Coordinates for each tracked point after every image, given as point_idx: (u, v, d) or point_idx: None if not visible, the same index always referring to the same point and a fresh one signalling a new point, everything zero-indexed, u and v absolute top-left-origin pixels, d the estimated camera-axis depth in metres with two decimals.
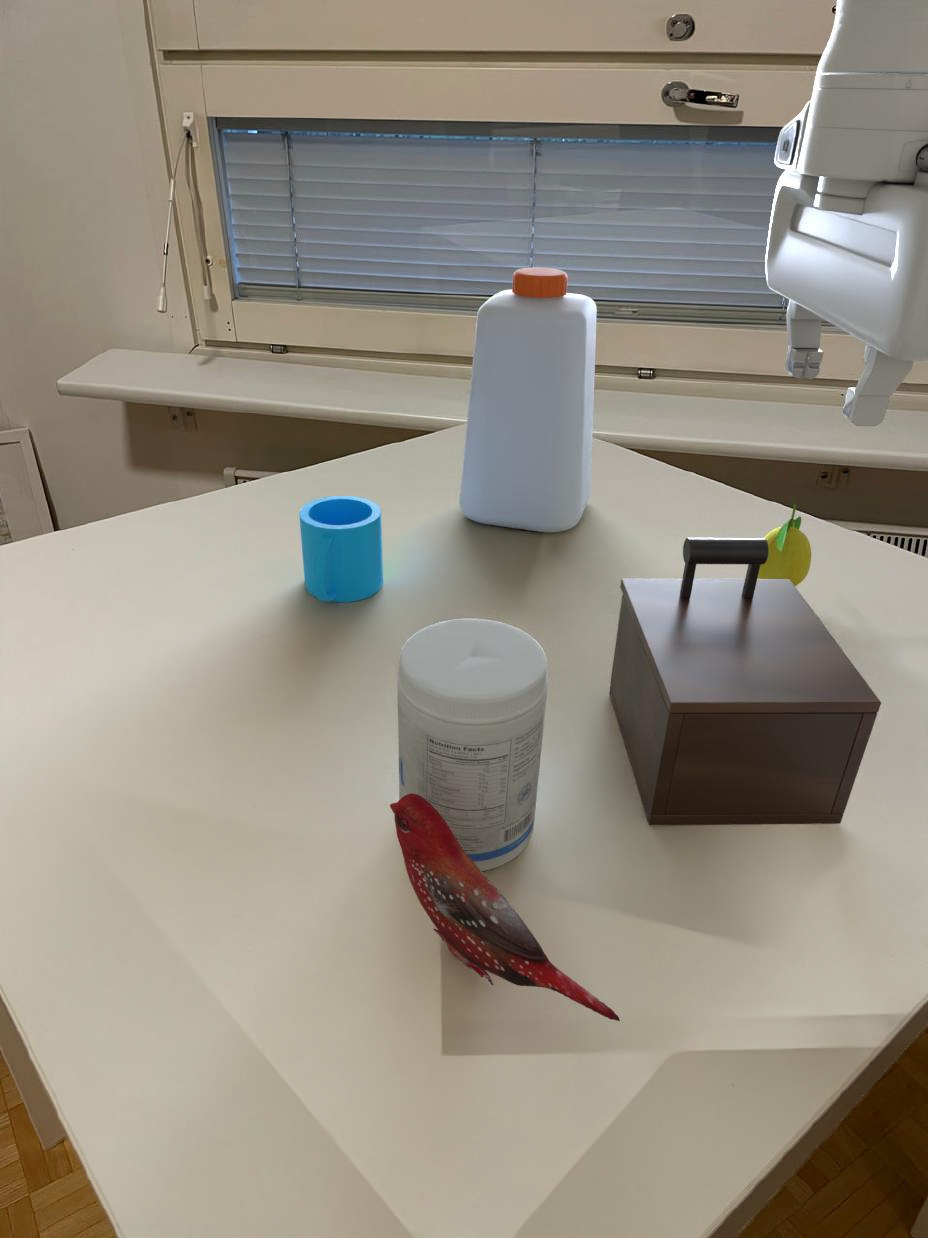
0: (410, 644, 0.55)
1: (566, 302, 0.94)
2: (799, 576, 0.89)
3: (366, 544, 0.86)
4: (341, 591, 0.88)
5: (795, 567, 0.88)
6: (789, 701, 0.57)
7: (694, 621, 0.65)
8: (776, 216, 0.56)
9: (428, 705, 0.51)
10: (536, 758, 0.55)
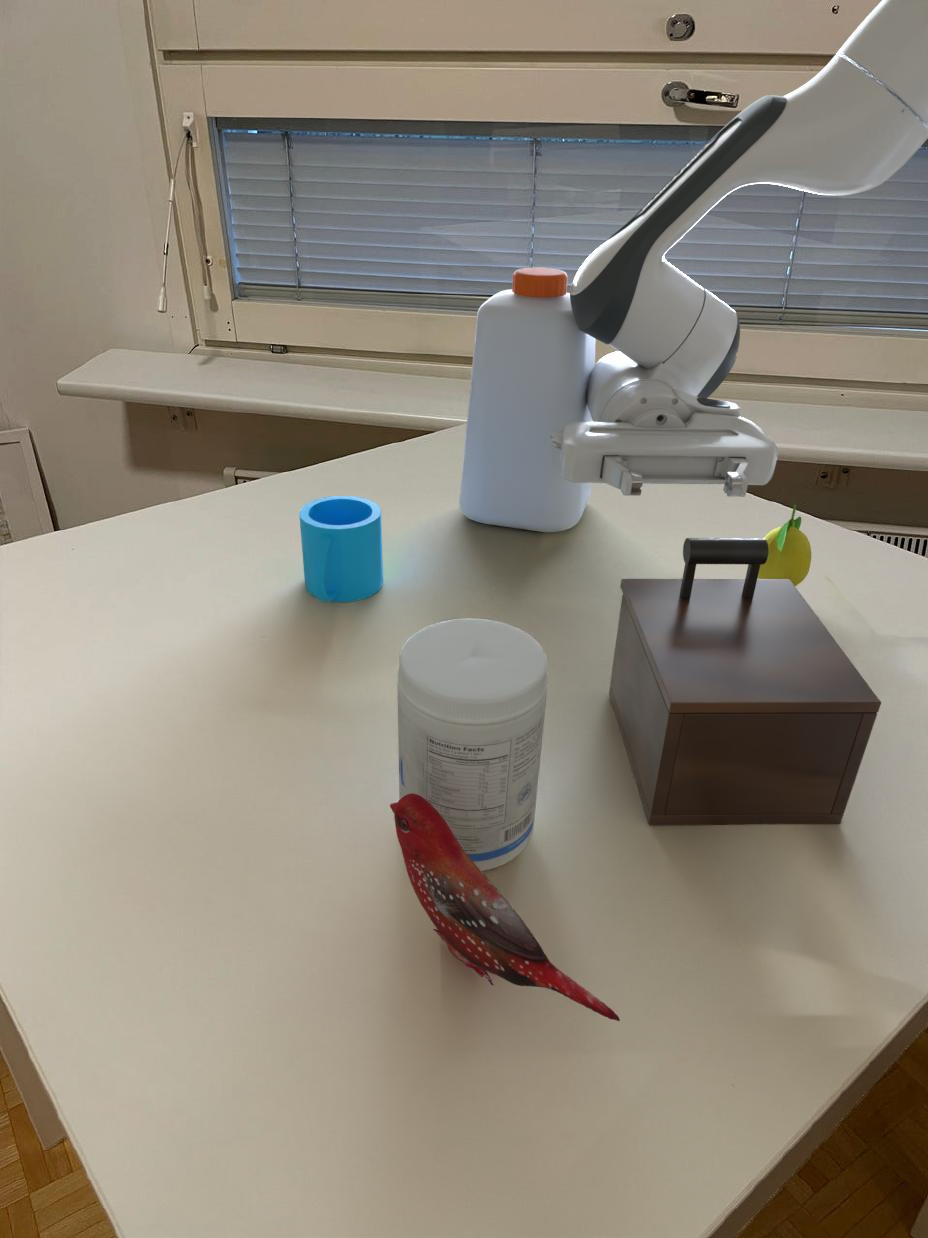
0: (410, 644, 0.55)
1: (566, 302, 0.94)
2: (799, 576, 0.89)
3: (366, 544, 0.86)
4: (341, 591, 0.88)
5: (795, 567, 0.88)
6: (789, 701, 0.57)
7: (694, 621, 0.65)
8: None
9: (428, 706, 0.51)
10: (536, 758, 0.55)
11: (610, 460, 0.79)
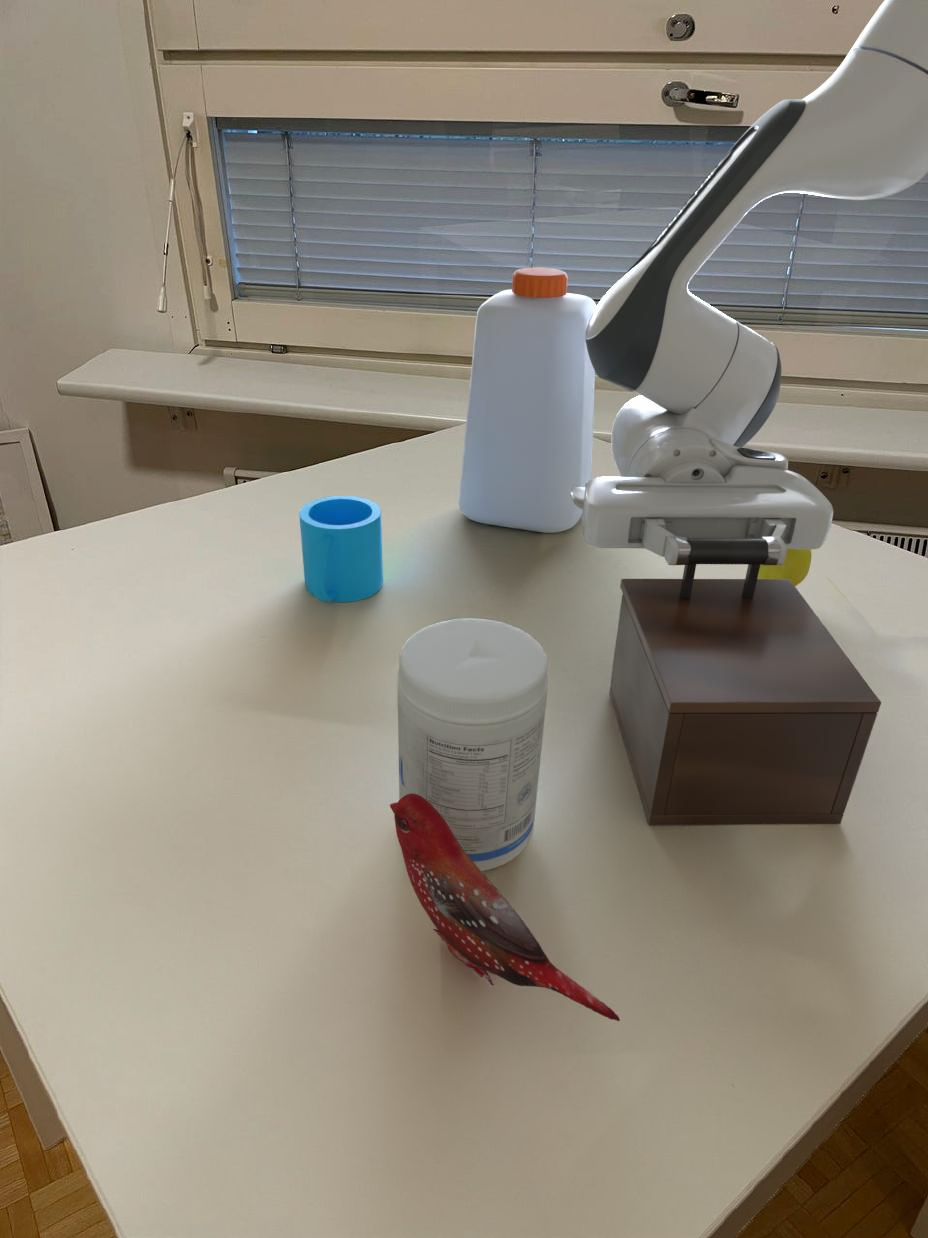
0: (410, 644, 0.55)
1: (566, 302, 0.94)
2: (799, 576, 0.89)
3: (366, 544, 0.86)
4: (341, 591, 0.88)
5: (795, 567, 0.88)
6: (789, 701, 0.57)
7: (694, 621, 0.65)
8: None
9: (428, 706, 0.51)
10: (536, 758, 0.55)
11: (652, 523, 0.68)
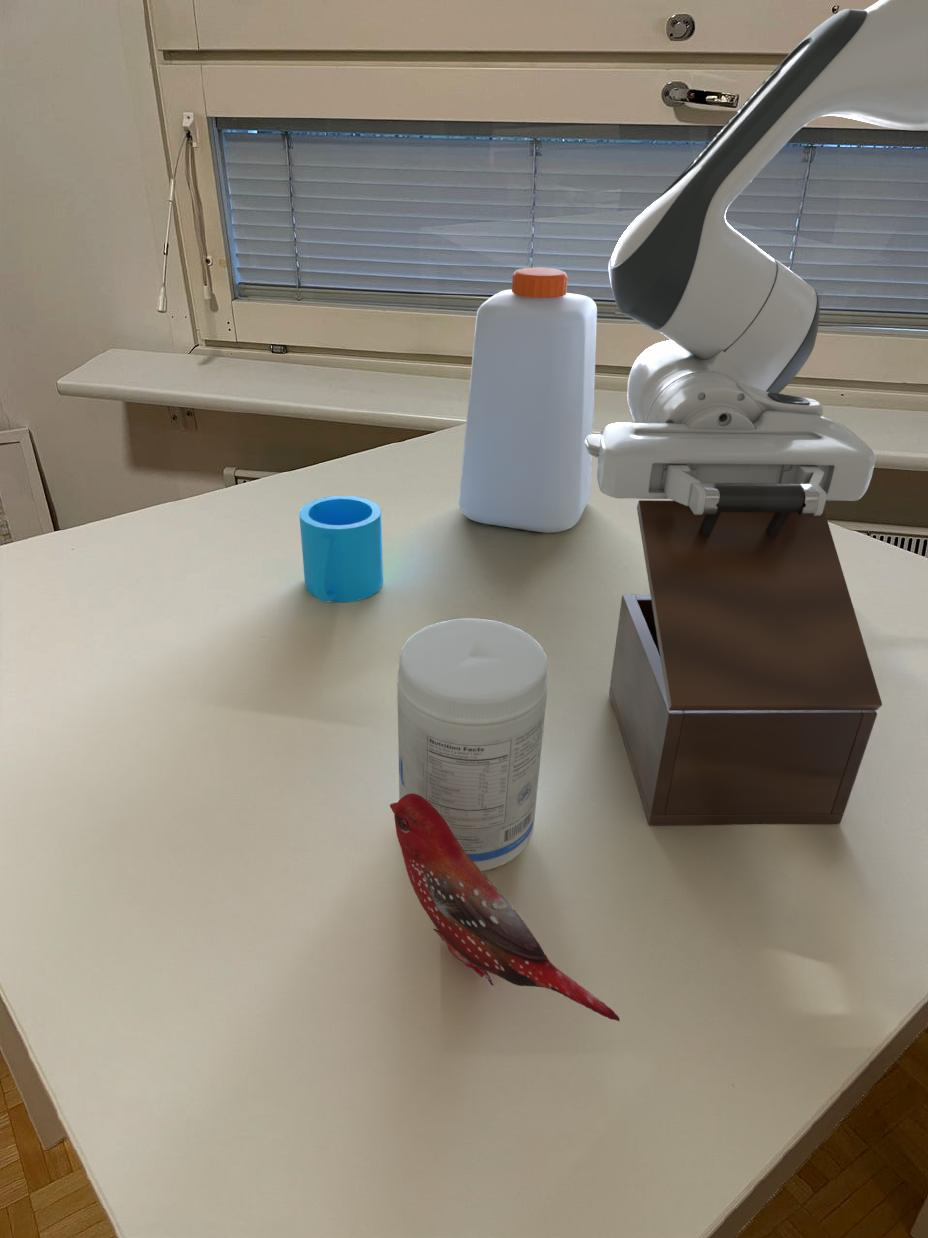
0: (410, 644, 0.55)
1: (565, 302, 0.94)
2: None
3: (366, 544, 0.86)
4: (341, 591, 0.88)
5: None
6: (790, 703, 0.57)
7: (710, 575, 0.62)
8: None
9: (428, 706, 0.51)
10: (536, 758, 0.55)
11: (676, 470, 0.62)
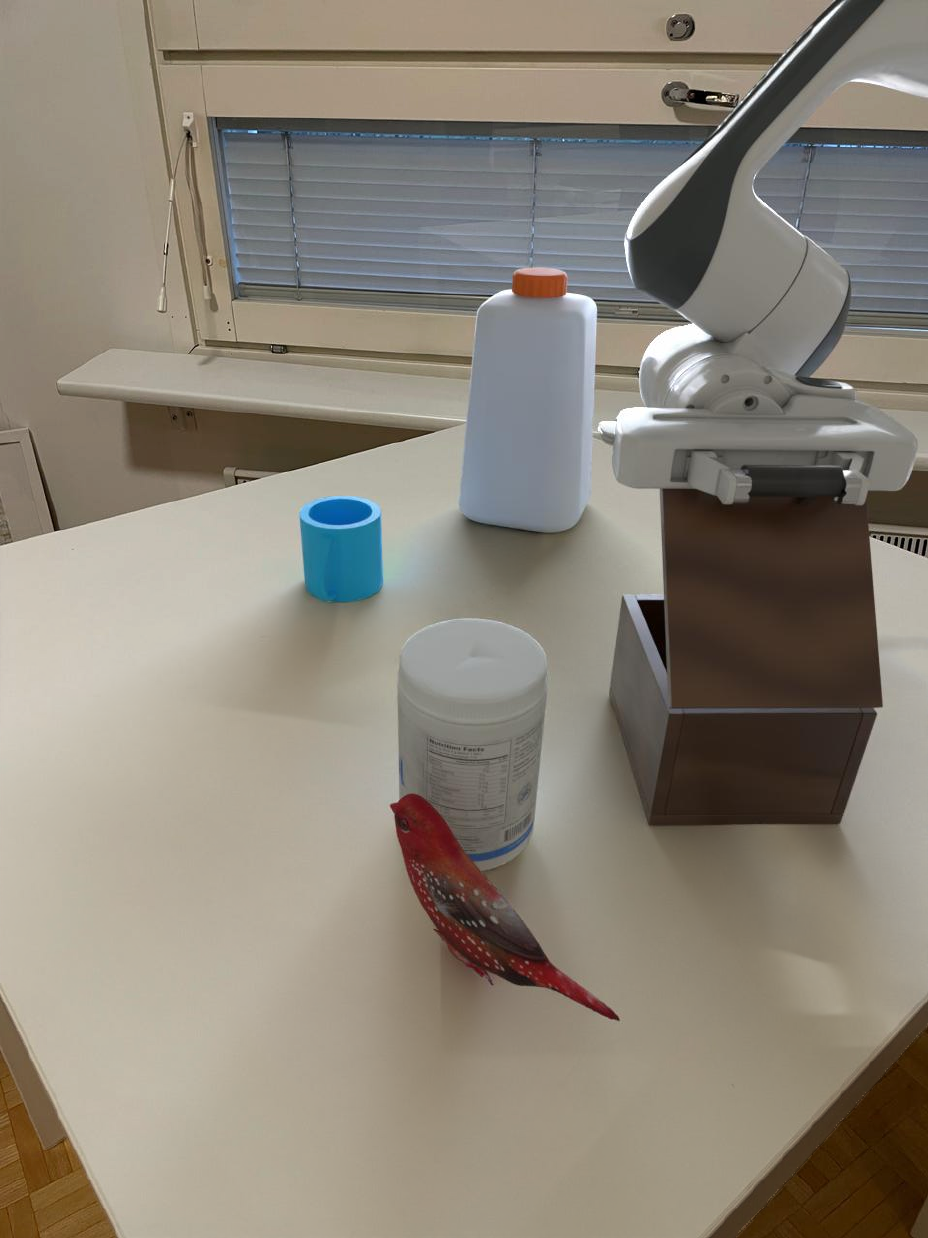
0: (410, 644, 0.55)
1: (565, 302, 0.94)
2: None
3: (366, 544, 0.86)
4: (341, 591, 0.88)
5: None
6: (791, 705, 0.57)
7: (728, 554, 0.58)
8: None
9: (428, 706, 0.51)
10: (536, 758, 0.55)
11: (701, 456, 0.56)
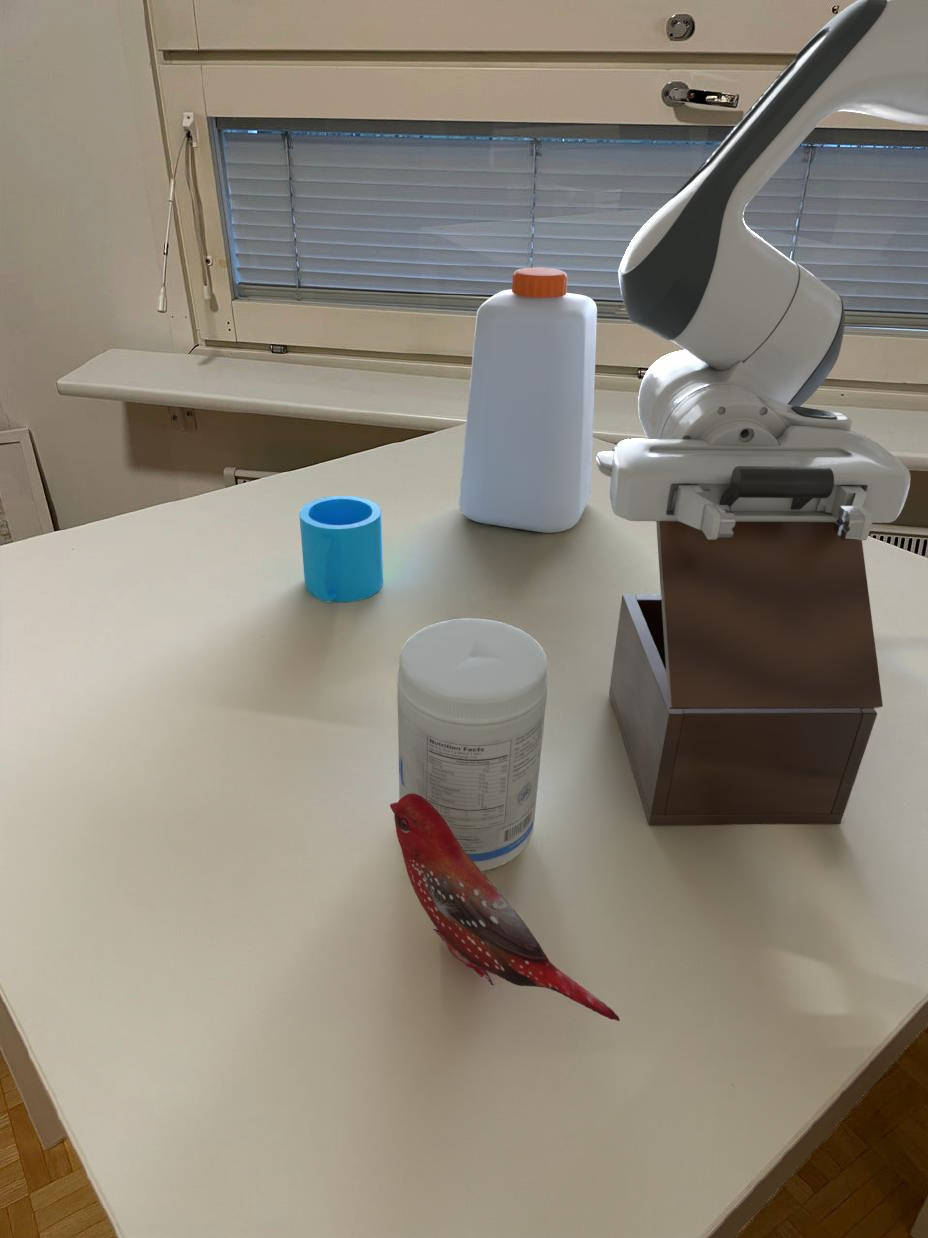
0: (410, 644, 0.55)
1: (565, 302, 0.94)
2: None
3: (366, 544, 0.86)
4: (341, 591, 0.88)
5: None
6: (791, 705, 0.57)
7: (723, 557, 0.59)
8: None
9: (428, 706, 0.51)
10: (536, 758, 0.55)
11: (687, 490, 0.57)
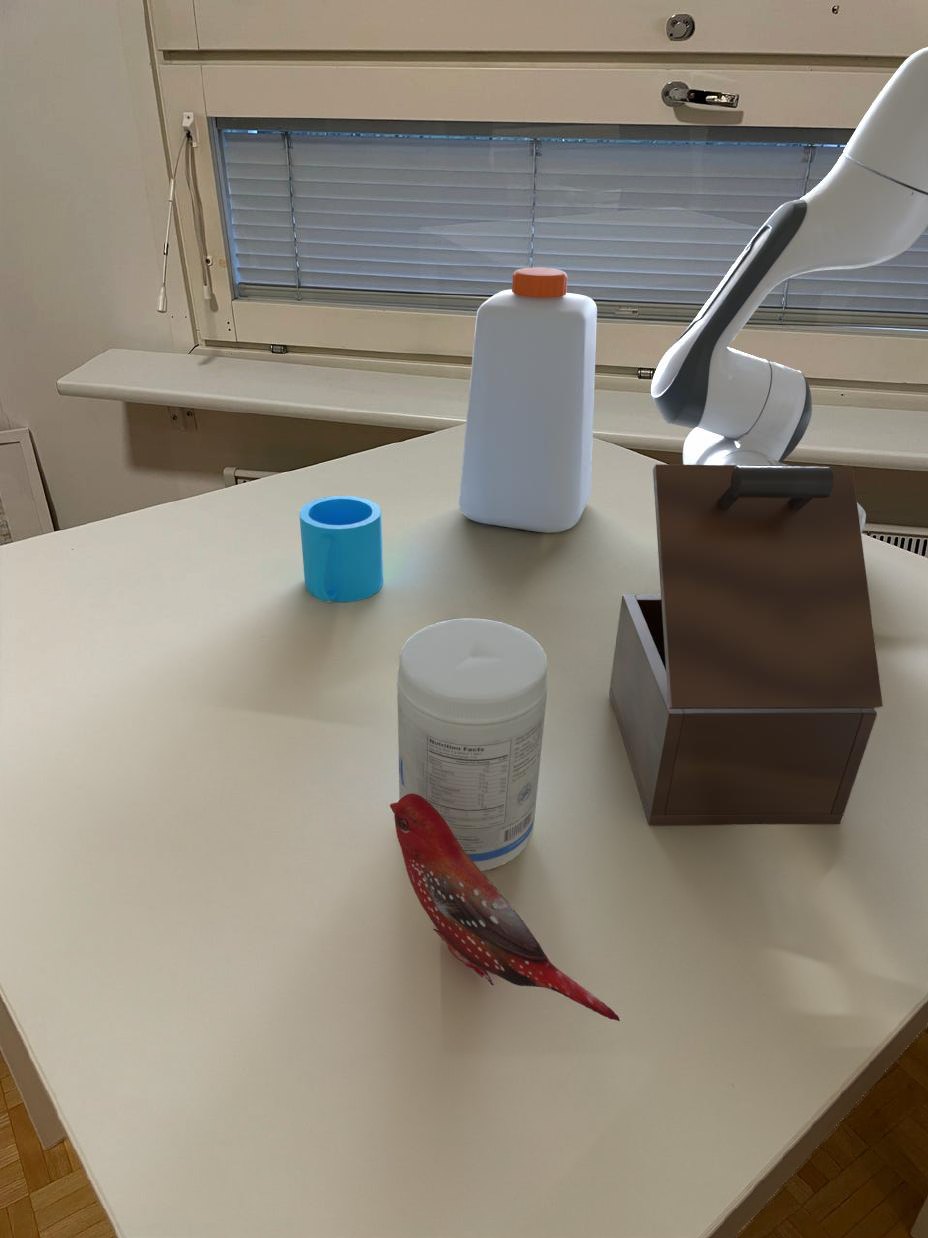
0: (410, 644, 0.55)
1: (565, 302, 0.94)
2: None
3: (366, 544, 0.86)
4: (341, 591, 0.88)
5: None
6: (791, 705, 0.57)
7: (723, 557, 0.59)
8: None
9: (428, 706, 0.51)
10: (536, 758, 0.55)
11: None
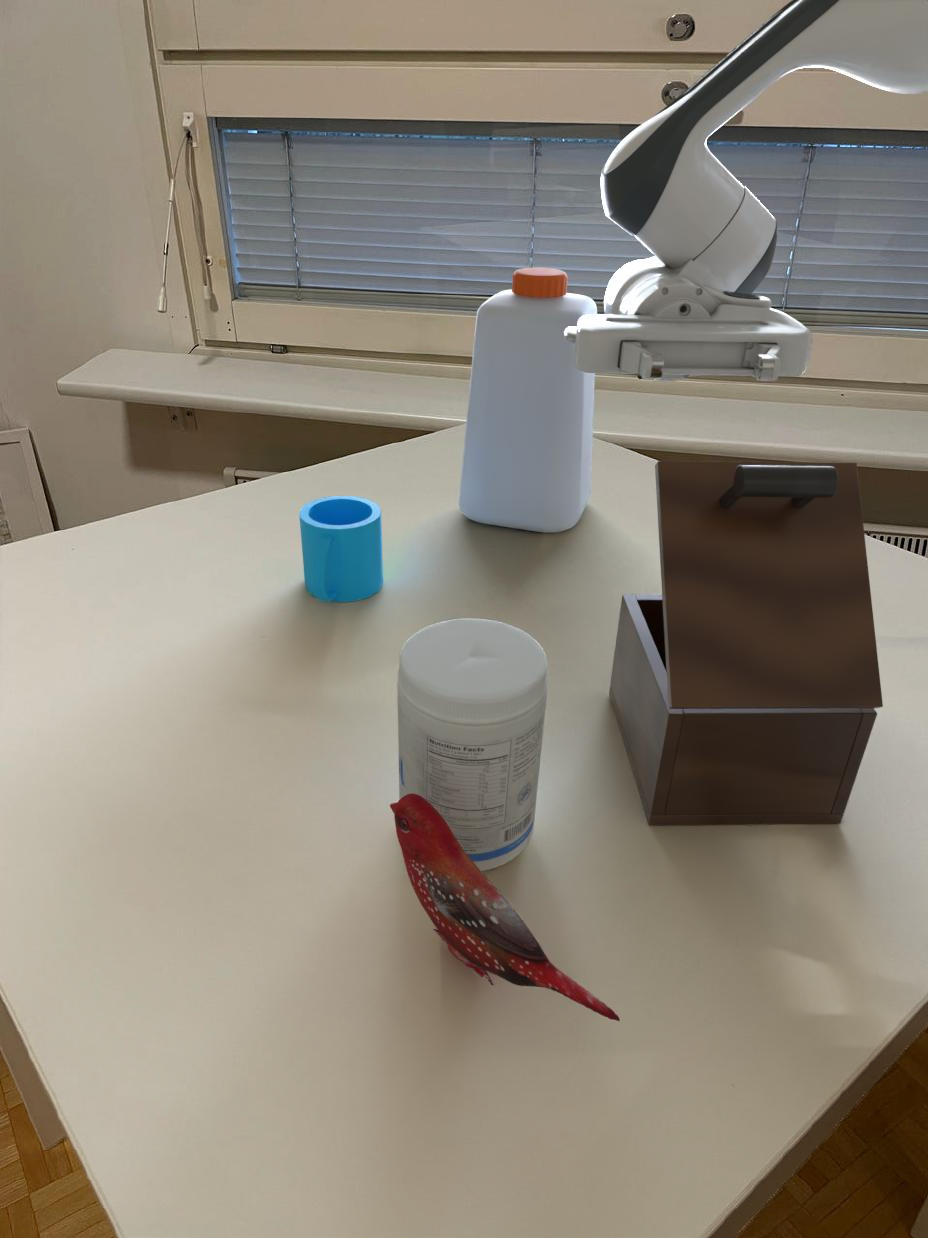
0: (410, 644, 0.55)
1: (565, 302, 0.94)
2: None
3: (366, 544, 0.86)
4: (341, 591, 0.88)
5: None
6: (791, 705, 0.57)
7: (725, 556, 0.59)
8: None
9: (428, 706, 0.51)
10: (536, 758, 0.55)
11: (628, 344, 0.72)
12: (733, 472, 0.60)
